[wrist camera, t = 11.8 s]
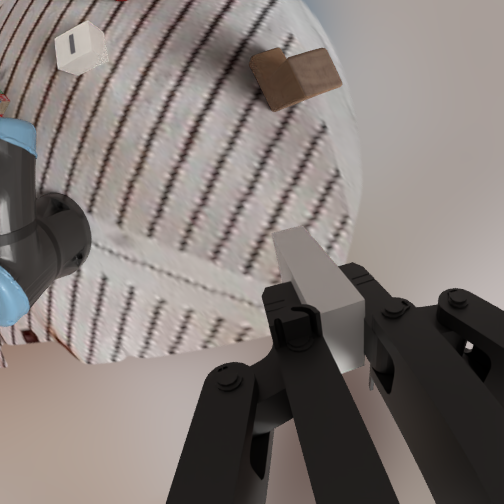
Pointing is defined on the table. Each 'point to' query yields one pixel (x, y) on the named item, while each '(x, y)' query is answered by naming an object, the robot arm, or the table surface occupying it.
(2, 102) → the stack of blocks
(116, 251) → the table surface
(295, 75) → the wooden block
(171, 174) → the table surface
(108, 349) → the table surface
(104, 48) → the marked block 1
